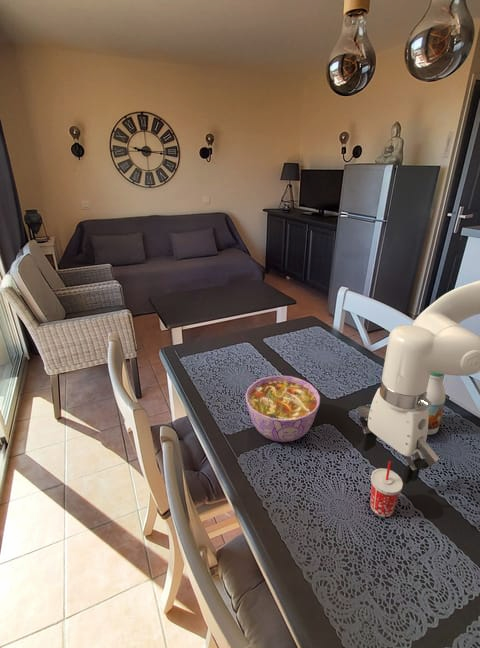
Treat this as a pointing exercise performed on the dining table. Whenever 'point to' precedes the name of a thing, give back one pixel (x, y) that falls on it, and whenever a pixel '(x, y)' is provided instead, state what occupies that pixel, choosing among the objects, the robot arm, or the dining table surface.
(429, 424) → the milk bottle
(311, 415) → the bowl of food
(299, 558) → the dining table surface
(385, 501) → the beverage cup
